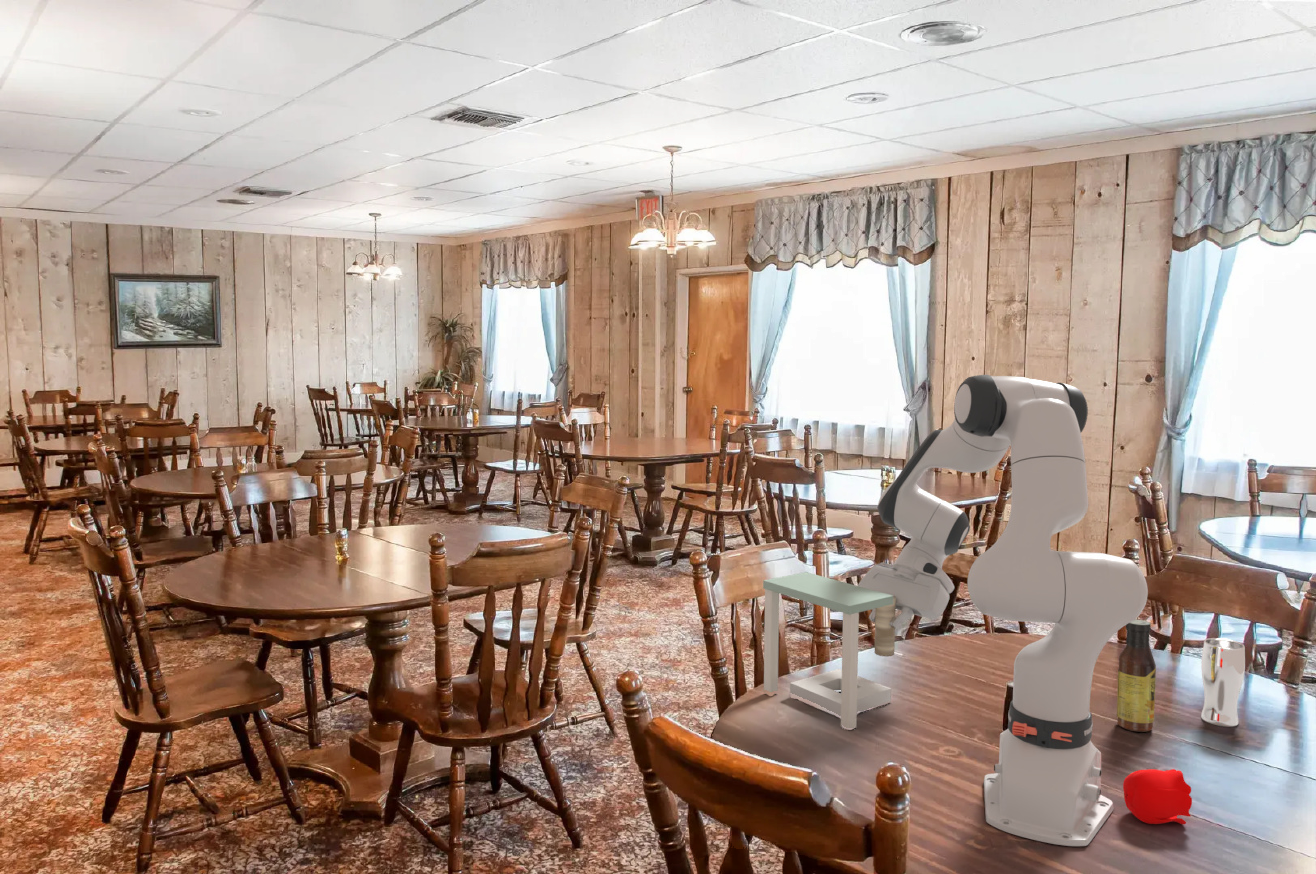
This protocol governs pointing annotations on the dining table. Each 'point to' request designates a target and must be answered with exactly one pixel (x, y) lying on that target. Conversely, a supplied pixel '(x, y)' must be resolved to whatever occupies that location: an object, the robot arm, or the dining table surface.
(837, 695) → the socket plate
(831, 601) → the small side table
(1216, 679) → the beer glass
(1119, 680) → the sauce bottle
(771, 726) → the dining table surface
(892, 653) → the birch peg
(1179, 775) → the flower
